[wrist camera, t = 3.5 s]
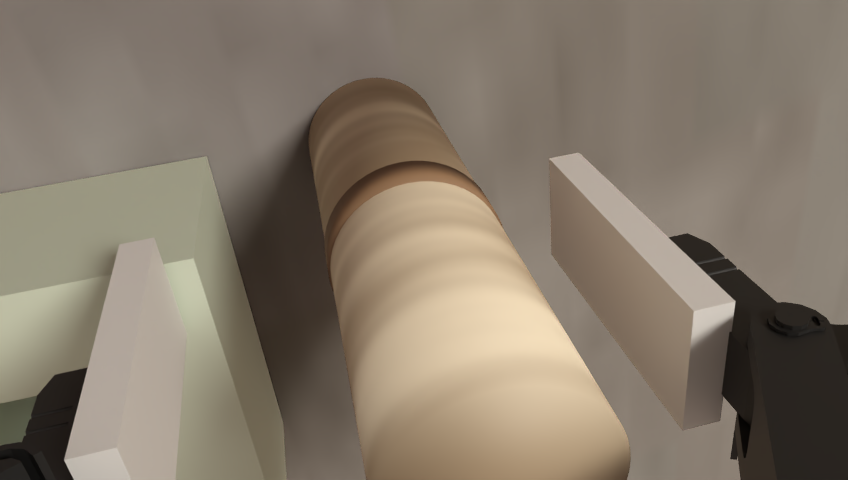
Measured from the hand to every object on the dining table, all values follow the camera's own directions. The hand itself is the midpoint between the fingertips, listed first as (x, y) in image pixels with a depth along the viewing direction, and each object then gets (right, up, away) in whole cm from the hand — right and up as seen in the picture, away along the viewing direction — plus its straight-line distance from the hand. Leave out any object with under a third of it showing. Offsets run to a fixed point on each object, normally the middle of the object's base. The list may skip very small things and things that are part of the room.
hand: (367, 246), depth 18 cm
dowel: (0, +3, +5) cm, 6 cm away
